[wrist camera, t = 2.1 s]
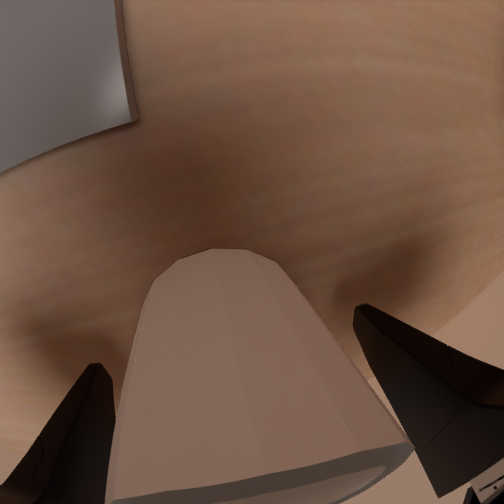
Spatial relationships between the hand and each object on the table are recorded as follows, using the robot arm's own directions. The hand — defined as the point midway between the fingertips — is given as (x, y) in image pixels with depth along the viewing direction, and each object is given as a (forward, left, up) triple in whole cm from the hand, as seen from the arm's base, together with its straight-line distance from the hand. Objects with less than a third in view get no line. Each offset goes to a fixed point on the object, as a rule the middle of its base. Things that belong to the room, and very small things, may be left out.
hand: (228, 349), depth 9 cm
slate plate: (+6, -12, -2) cm, 14 cm away
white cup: (0, 0, -2) cm, 2 cm away
